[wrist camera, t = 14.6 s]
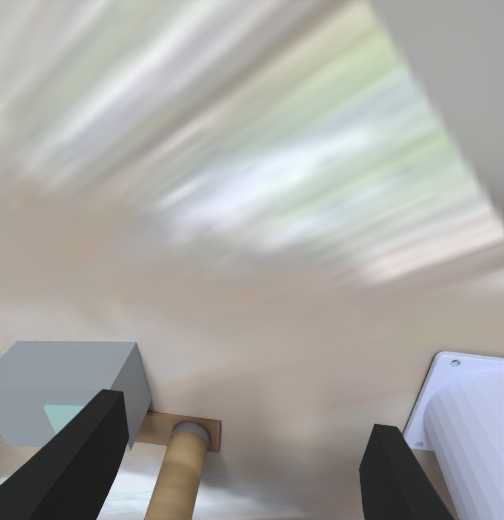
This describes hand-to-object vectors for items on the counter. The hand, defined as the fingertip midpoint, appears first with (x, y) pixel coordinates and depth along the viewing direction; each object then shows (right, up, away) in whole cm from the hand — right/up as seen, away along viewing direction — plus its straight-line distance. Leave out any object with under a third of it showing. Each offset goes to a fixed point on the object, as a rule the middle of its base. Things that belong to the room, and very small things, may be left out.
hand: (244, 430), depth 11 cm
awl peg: (-4, -7, +15) cm, 17 cm away
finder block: (-11, -2, +14) cm, 18 cm away
